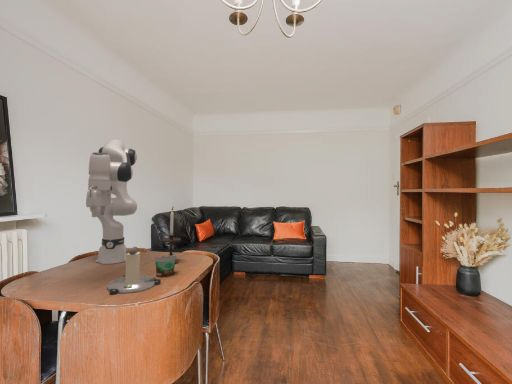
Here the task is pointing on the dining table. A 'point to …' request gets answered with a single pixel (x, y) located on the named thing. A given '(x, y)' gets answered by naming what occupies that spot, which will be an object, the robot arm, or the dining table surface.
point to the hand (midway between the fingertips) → (98, 216)
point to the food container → (165, 265)
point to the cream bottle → (132, 266)
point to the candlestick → (171, 235)
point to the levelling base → (132, 285)
